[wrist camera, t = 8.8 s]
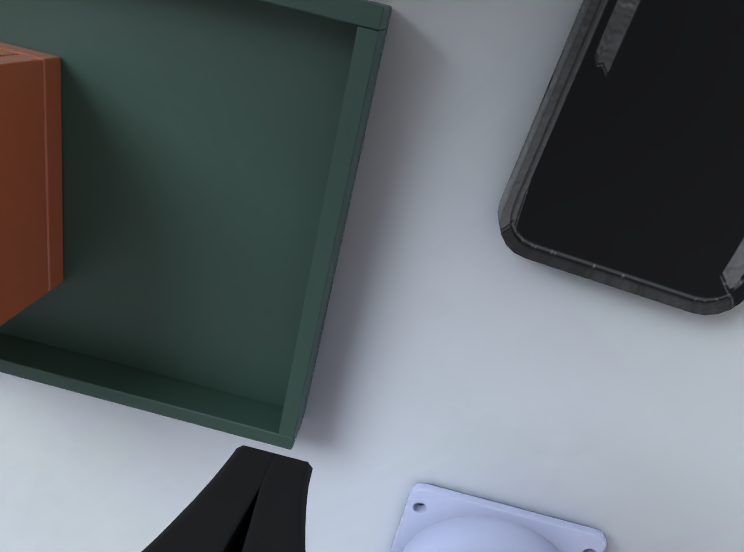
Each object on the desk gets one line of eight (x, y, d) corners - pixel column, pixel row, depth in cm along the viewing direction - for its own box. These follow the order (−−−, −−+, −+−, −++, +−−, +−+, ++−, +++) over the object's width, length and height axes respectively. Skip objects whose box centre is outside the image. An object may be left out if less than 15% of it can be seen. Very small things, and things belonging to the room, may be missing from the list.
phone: (1145, -302, 12) (729, 325, 18) (1090, -277, 13) (714, 308, 19) (766, -430, 11) (485, 245, 18) (740, -394, 12) (483, 232, 19)
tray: (303, 417, 23) (291, 450, 22) (-190, 286, 24) (-240, 308, 22) (392, 6, 17) (384, 6, 15) (-292, -163, 17) (-375, -182, 16)
